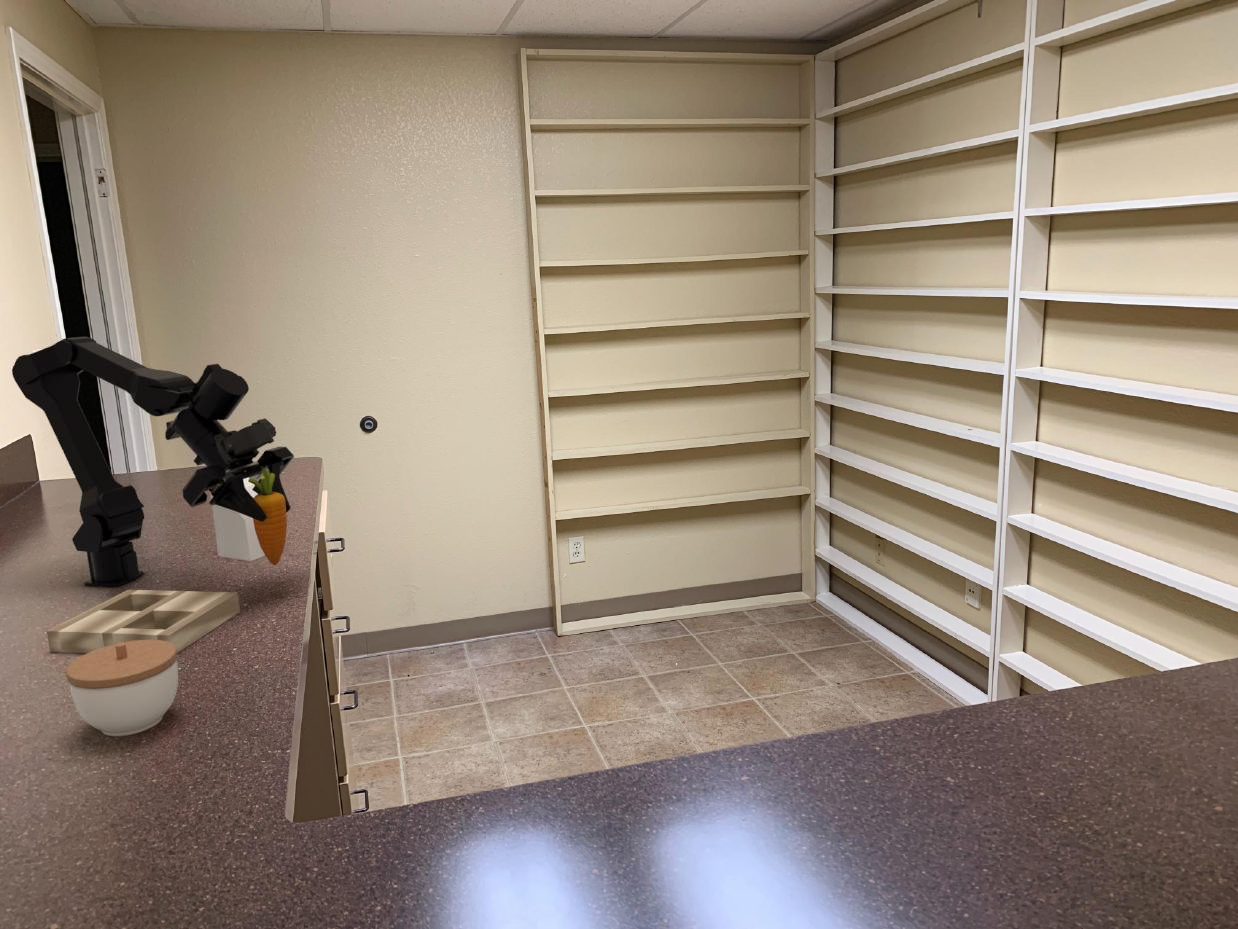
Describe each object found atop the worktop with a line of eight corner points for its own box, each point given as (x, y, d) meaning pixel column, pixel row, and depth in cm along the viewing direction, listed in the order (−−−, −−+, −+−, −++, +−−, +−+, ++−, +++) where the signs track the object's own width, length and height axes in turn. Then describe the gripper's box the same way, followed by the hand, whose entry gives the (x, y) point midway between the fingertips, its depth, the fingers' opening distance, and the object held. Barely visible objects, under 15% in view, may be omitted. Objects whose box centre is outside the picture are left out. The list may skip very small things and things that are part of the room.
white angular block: (252, 538, 171) (245, 477, 169) (296, 544, 166) (289, 481, 164) (205, 554, 162) (197, 490, 160) (250, 561, 157) (242, 495, 155)
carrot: (279, 571, 134) (268, 474, 131) (250, 569, 136) (239, 473, 132) (298, 561, 139) (288, 467, 136) (271, 559, 140) (260, 466, 137)
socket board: (50, 652, 120) (46, 631, 119) (130, 608, 136) (128, 589, 135) (172, 656, 117) (168, 635, 117) (240, 611, 133) (237, 592, 132)
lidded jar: (83, 713, 102) (70, 636, 101) (186, 693, 107) (176, 619, 105) (70, 757, 93) (56, 673, 91) (184, 733, 97) (172, 652, 95)
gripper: (188, 414, 125) (261, 495, 124) (278, 396, 142) (342, 467, 141) (151, 466, 129) (222, 545, 128) (243, 442, 146) (305, 512, 145)
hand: (276, 515), depth 135 cm, fingers closed on carrot, 5 cm apart
